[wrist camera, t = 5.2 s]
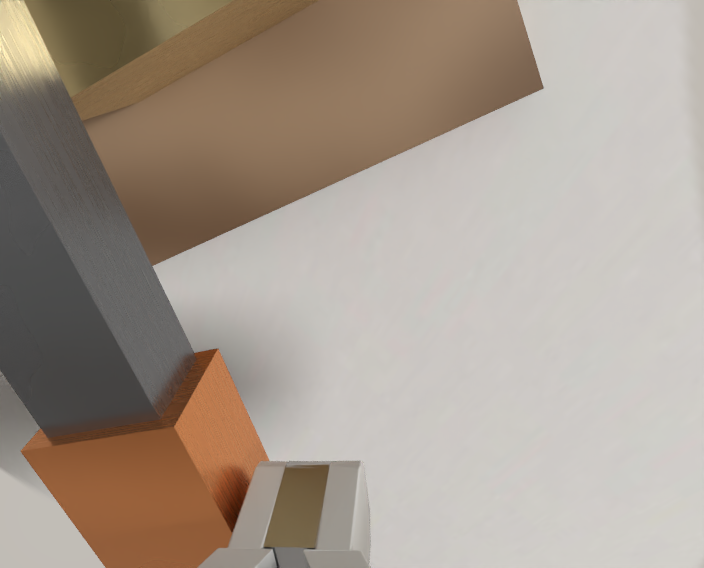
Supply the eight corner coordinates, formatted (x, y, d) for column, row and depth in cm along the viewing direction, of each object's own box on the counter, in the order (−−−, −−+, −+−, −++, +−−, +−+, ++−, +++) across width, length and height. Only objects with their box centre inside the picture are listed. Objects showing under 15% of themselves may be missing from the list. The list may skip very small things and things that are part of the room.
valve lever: (-321, -279, 5) (-636, -407, 4) (-104, -404, 5) (-366, -623, 3) (194, 561, 11) (158, 654, 9) (319, 548, 10) (304, 645, 9)
